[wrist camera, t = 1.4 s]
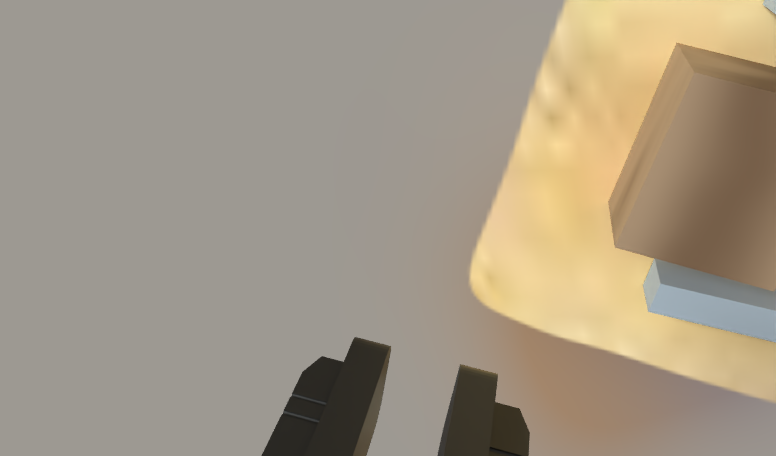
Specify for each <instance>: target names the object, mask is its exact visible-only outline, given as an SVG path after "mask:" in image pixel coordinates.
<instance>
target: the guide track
mask: <svg viewBox="0 0 776 456" xmlns="http://www.w3.org/2000/svg"><path fill="white" fill-rule="evenodd" d="M763 5H764V6H765V7H767V8H768V9H769V10H771V11H772V12H773V13H775V14H776V0H764V3H763ZM643 288H644V293H645V298H646V303H647V308H648V312H652V313H656V314H660V315H664V316H668V317H673V318H677V319H681V320H685V321H689V322H693V323H697V324H702V325H706V326H710V327H714V328H718V329H722V330H727V331H731V332H735V333H739V334H743V335H747V336H751V337H756V338H760V339H764V340H768V341H772V342H776V289H775V291H770V290H766V289H763V288H759V287H756V286H752V285H748V284H745V283H741V282H738V281H734V280H730V279H727V278H723V277H720V276H716V275H712V274H709V273H705V272H702V271H698V270H695V269H691V268H687V267H684V266H680V265H677V264H673V263H669V262H666V261H662V260H659V259H655V258H654V261H653V263H652V265H651V268H650V270H649V273H648V275H647V277H646V280H645V282H644V284H643Z"/></svg>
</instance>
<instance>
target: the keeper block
mask: <svg viewBox="0 0 776 456" xmlns="http://www.w3.org/2000/svg"><path fill="white" fill-rule="evenodd" d="M609 209H610V216H611V224H612V231H613V238H614V245H615V248H619V249H623V250H626V251H630V252H633V253H637V254H641V255H644V256H648V257H651V258H655V259H659V260H662V261H666V262H669V263H673V264H677V265H680V266H684V267H687V268H691V269H695V270H698V271H702V272H705V273H709V274H712V275H716V276H720V277H723V278H727V279H730V280H734V281H738V282H741V283H745V284H748V285H752V286H756V287H759V288H763V289H766V290H770V291H775V289H776V67H772V66H768V65H764V64H760V63H756V62H752V61H748V60H744V59H740V58H736V57H732V56H728V55H724V54H720V53H716V52H712V51H708V50H704V49H699V48H695V47H691V46H687V45H683V44H679V43H676V46H675V48H674V50H673V53H672V55H671V57H670V60H669V62H668V64H667V67H666V69H665V71H664V74H663V76H662V78H661V81H660V83H659V85H658V88H657V90H656V92H655V95H654V97H653V99H652V102H651V104H650V106H649V109H648V111H647V113H646V116H645V118H644V120H643V123H642V125H641V127H640V130H639V132H638V134H637V137H636V139H635V141H634V144H633V146H632V148H631V151H630V153H629V155H628V158H627V160H626V162H625V165H624V167H623V169H622V172H621V174H620V176H619V179H618V181H617V183H616V186H615V188H614V190H613V193H612V195H611V197H610V200H609Z"/></svg>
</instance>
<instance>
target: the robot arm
mask: <svg viewBox="0 0 776 456" xmlns="http://www.w3.org/2000/svg"><path fill="white" fill-rule="evenodd" d="M390 352H391V346H388V345H384V344H380V343H376V342H373V341H369V340H365V339H361V338H357V337H355V338H354V339H353V342H352V344H351V346H350V349H349V351H348V353H347V356H346V358H345V360H344V362H342V361H338V360H334V359H330V358H326V357H323V356H322V357H320V358H319V359H318V360H317V361H315V362H314V363H313V364H312V365H311V366H309V367H308V368H307V369H306V370H304V371H303V372H302V374H301V376H300V378H299V380H298V383H297V384H296V386H295V388H294V391H293V393H292V396H291V397H290V399H289V401H288V403H287V405H286V407H285V409H284V412H283V414H282V415H281V417H280V419H279V421H278V423H277V425H276V427H275V429H274V431H273V433H272V435H271V437H270V440H269V442H268V444H267V446H266V448H265V450H264V452H263V454H262V456H366V455H367V452H368V449H369V446H370V443H371V439H372V436H373V433H374V429H375V426H376V423H377V419H378V415H379V410H380V406H381V401H382V396H383V391H384V385H385V380H386V374H387V369H388V363H389V358H390ZM497 378H498V374H496V373H492V372H488V371H484V370H480V369H476V368H472V367H468V366H465V365H460V367H459V371H458V375H457V378H456V382H455V386H454V390H453V394H452V397H451V401H450V405H449V409H448V413H447V417H446V421H445V424H444V428H443V433H442V437H441V442H440V446H439V451H438V456H528V455H529V434H530V433H529V430H528V428H527V425H526V423H525V421H524V418H523V416H522V413H521V411H520V409H519V408H515V407H511V406H507V405H503V404H500V403H496V402H495V396H496V388H497Z"/></svg>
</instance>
